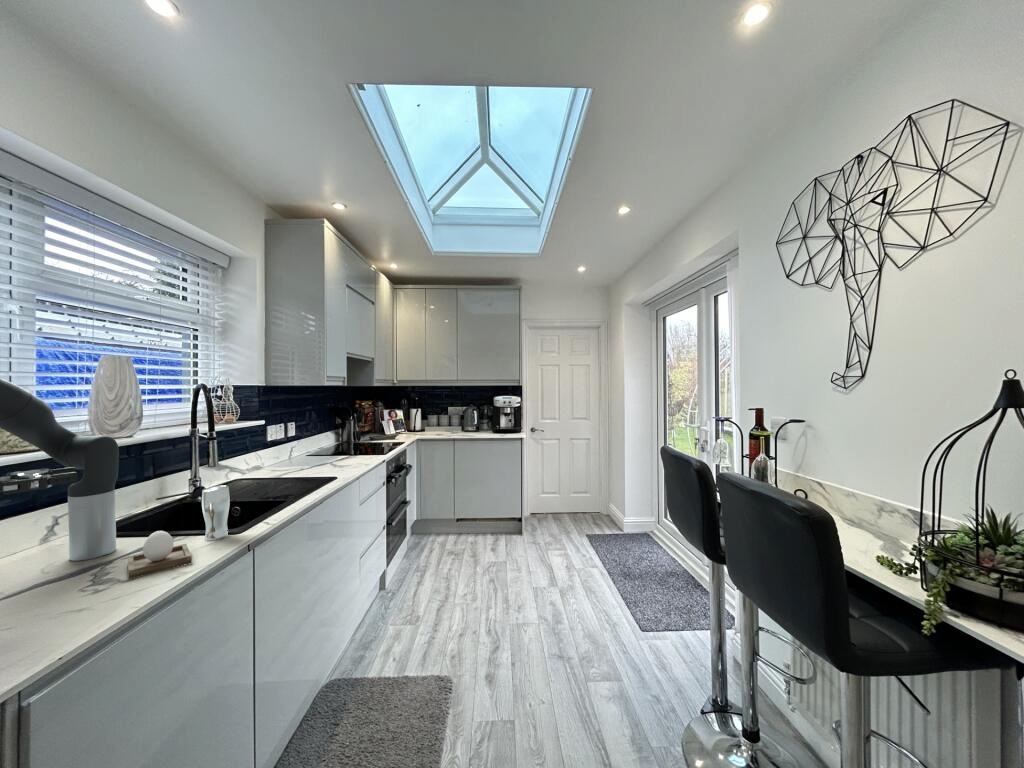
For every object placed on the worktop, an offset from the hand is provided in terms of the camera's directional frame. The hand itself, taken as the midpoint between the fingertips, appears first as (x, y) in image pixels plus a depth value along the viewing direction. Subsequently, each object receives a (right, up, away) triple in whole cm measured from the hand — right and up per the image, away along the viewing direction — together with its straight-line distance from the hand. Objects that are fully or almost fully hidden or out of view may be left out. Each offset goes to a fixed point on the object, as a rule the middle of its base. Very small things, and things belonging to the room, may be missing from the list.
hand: (76, 474), depth 94 cm
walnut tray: (+8, -26, +13) cm, 30 cm away
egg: (+8, -25, +13) cm, 30 cm away
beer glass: (+9, -27, +32) cm, 43 cm away
